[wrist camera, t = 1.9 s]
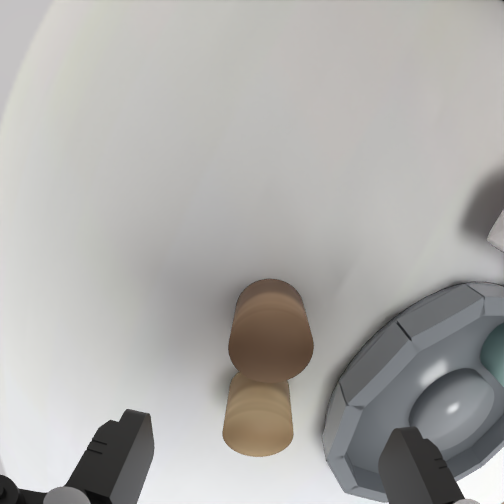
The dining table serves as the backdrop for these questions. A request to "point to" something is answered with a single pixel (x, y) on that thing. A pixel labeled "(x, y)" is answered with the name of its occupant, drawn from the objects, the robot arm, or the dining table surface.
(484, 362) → the bead teal
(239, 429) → the bead oak
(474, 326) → the ring tray
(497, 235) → the toy
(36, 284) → the dining table surface
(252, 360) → the bead walnut
